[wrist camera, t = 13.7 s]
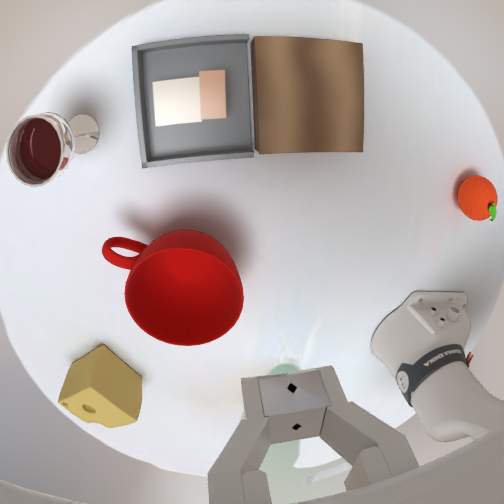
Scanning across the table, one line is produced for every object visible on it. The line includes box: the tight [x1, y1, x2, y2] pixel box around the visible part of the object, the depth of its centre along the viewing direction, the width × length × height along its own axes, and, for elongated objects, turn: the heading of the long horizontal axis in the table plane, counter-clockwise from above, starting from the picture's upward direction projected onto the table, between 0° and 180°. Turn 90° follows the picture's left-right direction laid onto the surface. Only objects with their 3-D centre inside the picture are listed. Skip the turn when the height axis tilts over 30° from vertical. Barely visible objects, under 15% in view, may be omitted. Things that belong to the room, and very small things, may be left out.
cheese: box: [58, 345, 142, 428], centre depth 46 cm, size 10×11×10 cm
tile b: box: [199, 70, 226, 120], centre depth 30 cm, size 5×5×2 cm
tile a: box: [153, 77, 203, 126], centre depth 31 cm, size 5×5×2 cm
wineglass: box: [6, 112, 99, 187], centre depth 27 cm, size 7×7×12 cm
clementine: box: [458, 176, 497, 221], centre depth 39 cm, size 8×7×7 cm
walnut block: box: [250, 36, 364, 154], centre depth 32 cm, size 12×13×4 cm
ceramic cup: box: [102, 230, 244, 346], centre depth 37 cm, size 13×17×10 cm
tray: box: [132, 34, 254, 168], centre depth 32 cm, size 12×14×3 cm
